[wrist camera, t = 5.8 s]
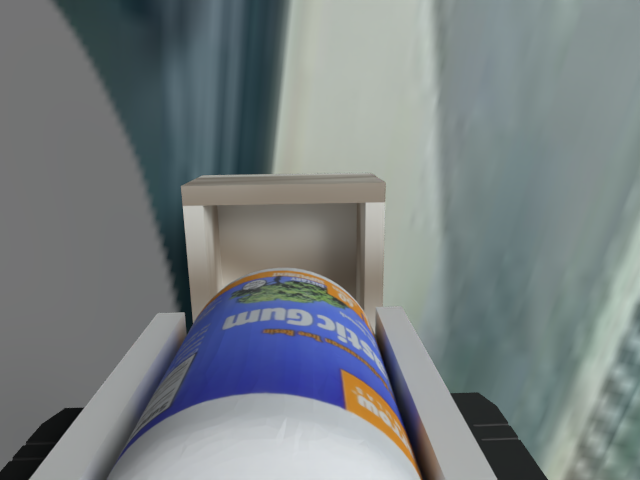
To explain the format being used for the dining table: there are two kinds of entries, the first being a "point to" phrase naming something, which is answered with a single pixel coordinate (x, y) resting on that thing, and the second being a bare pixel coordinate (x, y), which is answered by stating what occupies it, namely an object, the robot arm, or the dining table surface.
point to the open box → (286, 231)
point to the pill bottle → (273, 392)
